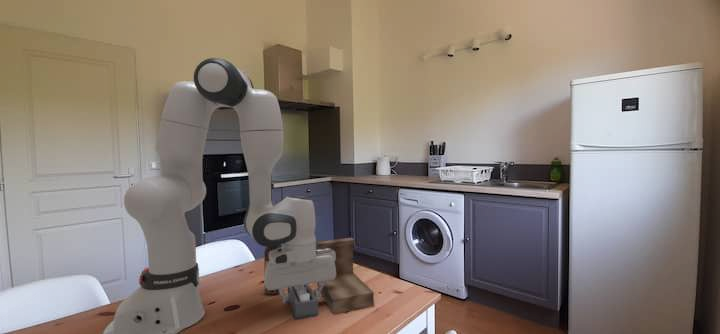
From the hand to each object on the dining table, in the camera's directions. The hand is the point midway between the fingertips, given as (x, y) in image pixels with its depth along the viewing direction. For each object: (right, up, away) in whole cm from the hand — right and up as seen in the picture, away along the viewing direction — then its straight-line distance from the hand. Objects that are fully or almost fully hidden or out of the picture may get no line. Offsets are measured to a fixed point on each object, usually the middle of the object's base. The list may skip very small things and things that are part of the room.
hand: (301, 299), depth 93 cm
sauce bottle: (-11, -2, +11) cm, 15 cm away
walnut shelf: (+12, -2, +6) cm, 13 cm away
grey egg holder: (0, -2, 0) cm, 2 cm away
